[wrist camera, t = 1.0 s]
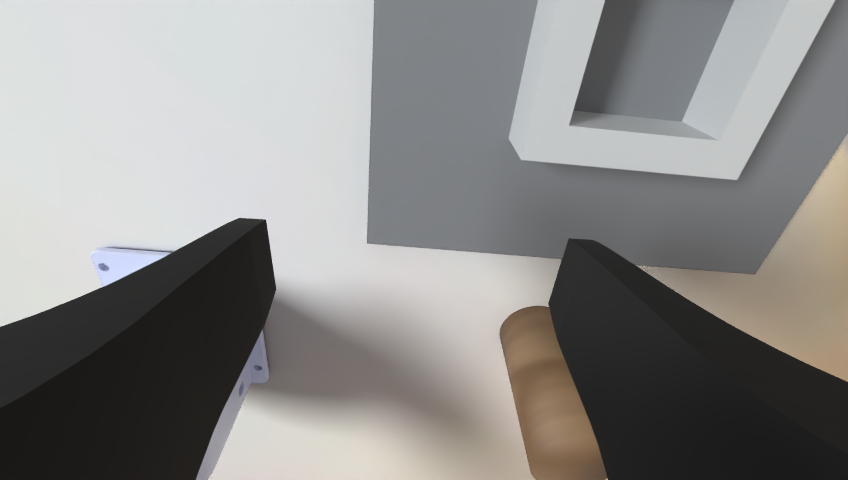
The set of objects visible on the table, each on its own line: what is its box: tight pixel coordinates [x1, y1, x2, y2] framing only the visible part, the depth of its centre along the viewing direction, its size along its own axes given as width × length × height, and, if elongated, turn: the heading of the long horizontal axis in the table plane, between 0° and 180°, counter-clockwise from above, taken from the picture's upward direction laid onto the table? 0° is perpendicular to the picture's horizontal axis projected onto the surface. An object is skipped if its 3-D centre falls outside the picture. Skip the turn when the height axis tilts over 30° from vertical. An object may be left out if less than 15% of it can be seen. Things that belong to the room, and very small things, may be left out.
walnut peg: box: [500, 306, 607, 480], centre depth 21 cm, size 4×4×8 cm
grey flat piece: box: [367, 0, 848, 274], centre depth 14 cm, size 20×20×4 cm
